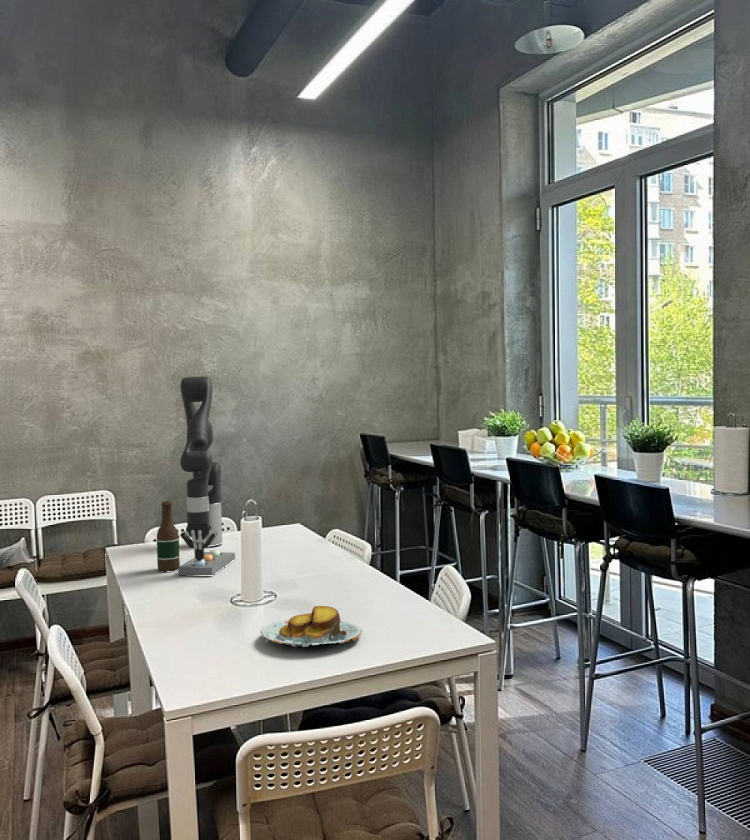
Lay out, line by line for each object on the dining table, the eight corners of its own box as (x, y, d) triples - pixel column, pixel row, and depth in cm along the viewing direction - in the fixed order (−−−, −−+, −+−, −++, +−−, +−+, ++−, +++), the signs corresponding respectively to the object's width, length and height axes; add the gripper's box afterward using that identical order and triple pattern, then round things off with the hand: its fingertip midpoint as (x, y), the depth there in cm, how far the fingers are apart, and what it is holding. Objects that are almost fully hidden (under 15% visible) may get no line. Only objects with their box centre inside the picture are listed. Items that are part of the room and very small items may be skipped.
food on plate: (243, 637, 197) (243, 612, 196) (324, 617, 212) (323, 594, 212) (296, 665, 177) (296, 637, 176) (381, 641, 192) (380, 615, 192)
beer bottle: (176, 572, 263) (174, 503, 262) (154, 572, 263) (152, 503, 262) (182, 567, 271) (180, 499, 270) (161, 567, 271) (158, 500, 270)
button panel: (203, 560, 281) (203, 552, 281) (235, 560, 279) (235, 552, 279) (178, 575, 259) (178, 567, 259) (212, 576, 257) (212, 567, 257)
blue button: (196, 567, 264) (196, 558, 264) (206, 567, 263) (206, 559, 263) (192, 570, 260) (192, 561, 260) (202, 570, 260) (202, 561, 259)
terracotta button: (204, 562, 271) (204, 554, 271) (214, 562, 270) (214, 554, 270) (200, 565, 267) (200, 556, 267) (210, 565, 267) (210, 556, 266)
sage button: (211, 558, 278) (211, 549, 277) (221, 558, 277) (221, 550, 277) (208, 560, 274) (207, 552, 274) (217, 560, 273) (217, 552, 273)
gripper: (220, 507, 263) (221, 557, 264) (184, 507, 265) (185, 557, 266) (212, 511, 256) (213, 562, 257) (175, 511, 258) (176, 562, 259)
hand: (199, 559), depth 261 cm, fingers closed
